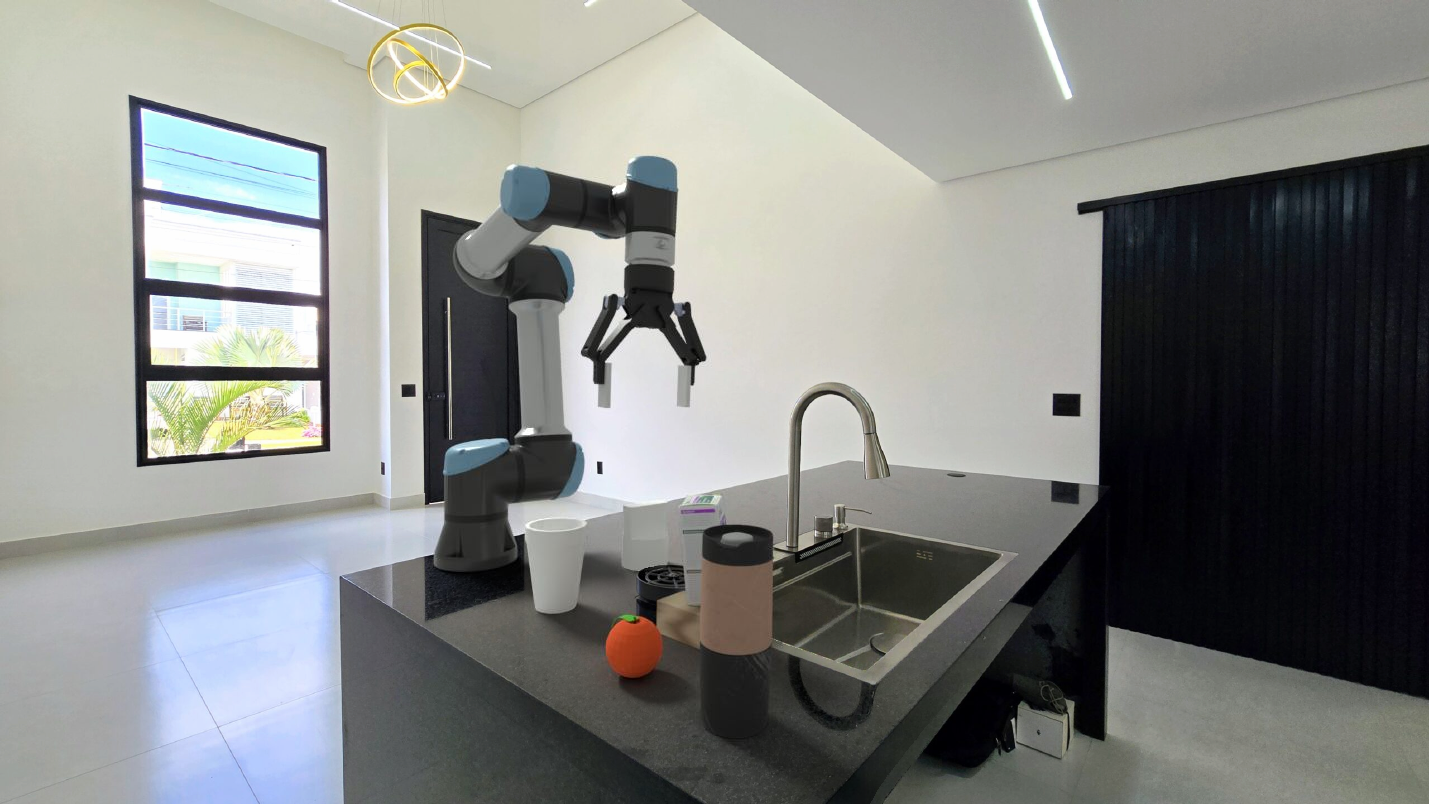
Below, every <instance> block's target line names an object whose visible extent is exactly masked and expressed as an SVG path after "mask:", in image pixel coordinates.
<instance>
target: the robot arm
mask: <svg viewBox="0 0 1429 804" xmlns="http://www.w3.org/2000/svg"><path fill="white" fill-rule="evenodd" d="M625 178H626V182H625V181H624V183H621V184H618V185H610V184H607V183H606V184H605V183H601V182H597V181H594V180H593V181H592V180H588V179H583V178H580V177H574V176H571V175H567V174H562V173H558V172H555V171H550V170H546V169H542V168H540V167H537V166H527V165H520V164H512V165H509V166H508V167H507V168H506V170H505V171H504V174H503V177H502V179H501V183H500V188H499V189H500V190H499V191H500V192H499V196H500V197H499V198H500V204H498V206H497V207H496V208H495V209H494V210H493V212H492V213H490V214H489V215H488V217H487V218H485V220H484V221H483V222H482V223H481V224H480V225H479V226H478V227H477V228H476V229H471V230H468V231H467V232H465V233H464V234H463V235H462V236H461V237H460V238H459V239H458V240H457V241H456V243H455V245H454V247H453V253H452V261H453V265H454V268H455V270H456V272H457V274H458V276H459V277H460V278H461V280H462V281H463V282H464V283H466V284H467V286H469V287H470V288H472V289H473V290H475V291H477V292H479V293H481V294H484V295H488V296H491V297H498V298H507V299H508V309H509V310H510V312H512V313H513V314H514V315H515V316H516V325H517V327H516V328H517V331H516V332H517V346H518V347H517V348H518V350H517V351H518V368H519V369H518V370H519V373H518V374H519V391H520V392H519V393H520V414H521V418H520V419H521V429H520V430H519V431H518V432H517V434H516V435H514V444H513V445H510V443H509V440H508V439H507V438H491V439H488V438H485V439H478V440H471V441H468V442H467V441H465V442H462V443H458V444H455V445H452V446H451V447H450V448H448V449H447V451H446V452H445V455H444V465H443V471H442V474H443V476H444V477H443V479H444V481H443V483H444V484H443V486H444V487H443V489H444V491H443V495H444V496H443V512H444V513H443V515H444V516H443V525H442V529H441V531H440V535H439V537H438V541H437V543H436V545H435V549H434V551H433V566H434V567H435V568H437V569H438V570H441V571H442V570H443V571H449V572H458V573H459V572H460V573H461V572H462V573H463V572H464V573H465V572H466V573H467V572H480V571H487V570H494V569H497V568H501V567H504V566H507V565H510V564H511V563H513V562H515V561H516V560H517V558H518V545H517V541H516V538H515V536H514V533H513V529H512V527H511V523H510V522H509V506H510V504H521V503H527V502H529V503H531V502H540V501H541V502H542V501H556V500H558V499H563V498H569V497H571V496H573V495H574V494H575V493H576V492H577V491H578V490H579V487H580V486H581V484H582V481H583V478H584V473H585V463H586V462H585V461H586V460H585V453H584V451H583V447H582V445H581V444H580V443H578V442H576V441H573V433H572V432H571V431H570V430H569V429H568V428H567V427H566V426H565V414H564V413H565V412H564V395H563V393H564V392H563V377H562V376H563V374H562V358H561V357H562V355H561V354H562V353H561V338H560V337H561V336H560V321H559V320H560V318H559V316H560V315H561V313H562V312H563V311H564V310H566V303H569V301H570V300H571V299H572V297H573V294H574V291H575V290H574V287H575V283H576V282H575V281H576V279H575V273H574V267H573V263H572V262H571V260H570V258H569V256H568V255H567V254H566V253H565V252H564V251H563V250H561V249H559V248H555V247H551V246H548V245H544V244H541V245H537V244H531V243H533V241H535V240H536V239H537V238H538V237H539V236H540V235H542V234H543V233H544V232H545V231H547V230H548V229H550V228H551V227H552V226H559V227H564V228H570V229H576V230H582V231H587V232H591V233H593V234H595V235H596V236H597V237H599V238H601V239H603V240H618V239H623V238H625V239H624V240H625V242H624V262H625V263H626V264H627V265H626V266H625V267H624V269H623V272H624V273H623V274H624V275H623V290H624V294H623V297H622V296H618V294H617V293H611V294H610V293H609V294H605V295H604V296H603V298H602V300H603V301H602V307H601V310H600V313H599V314H598V317H597V318H596V319H595V323H594V325H593V326H592V329H591V331H590V332H589V334H588V336H587V338H586V340H585V343H584V344H583V346H582V348H581V350H580V355H581V356H582V357H584V358H586V359H589V360H590V361H591V362H592V364H593V366H592V367H593V371H592V373H593V374H592V382H593V384H594V385H598V386H597V389H598V391H597V392H598V393H597V407H598V408H604V409H611V400H612V399H611V397H612V366H613V365H612V364H613V363H612V362H606V361H607V360H609V357H611V355H612V354H613V353H614V352H615V351H616V349H617V348H618V346H619V345H620V344H621V343H622V342H623V341H624V340H625V338H626V337H627V336H629V335H628V334H629V333H630V332H631V331H632V330H633V329H635V328H636V329H642V328H643V329H645V328H647V329H650V330H657V329H658V331H660V332H661V333H662V334H663V336H664V337H665V339H666V340H667V342H668V343H669V345H670V346H671V348H672V349H673V350H674V352H675V353H676V355H677V357H678V358H679V360H680V361H681V363H682V365H680V364H679V365H677V388H676V389H677V391H676V406H677V407H680V408H690V407H691V387H692V386H694V385H695V382H696V381H695V380H696V377H695V376H696V367H697V366H699V365H700V364H701V363H702V362H703V363H704V362H706V360H707V355H706V353H705V349H704V347H703V344H702V341H701V339H700V335H699V333H698V330H697V327H696V325H695V322H694V319H693V317H692V304H691V302H689V301H683V302H674V299H673V295H674V292H675V274H676V273H675V270H674V268H673V266H674V265H675V263H676V262H675V260H676V233H677V232H676V231H677V214H678V197H679V196H678V195H679V188H678V169H677V166H676V164H675V163H674V162H673V161H671V160H669V159H668V158H664V157H661V156H657V155H656V156H655V155H639V156H636V157H633V158H631V159H630V160H629V162H628V164H627V169H626V174H625ZM620 308H622V309H623V311H624V312H625V315H624V316H623V317H622V318H621V319H620V321H619V322H618V324H617V326H616V327H615V328H614V329H613V331H612V332H611V333H610V334H609V335H608V337H607V338H606V339H605V340H604V338H605V335H606V333H607V332H608V329H609V327H610V326H611V323H612V321H613V319H614V318H615V316H616V313H617V311H619V310H620ZM672 314H674V315H675V316H676V317H677V322H678V325H679V328H680V331H681V333H682V335H683V336H682V335H681V333H680V332H679V330H678V329H677V325H676V323H675V321H674V320H673V318H672V317H671V316H672ZM603 340H604V341H603ZM602 342H603V343H602Z"/></svg>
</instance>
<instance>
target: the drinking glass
mask: <svg viewBox="0 0 1429 804" xmlns="http://www.w3.org/2000/svg"><path fill="white" fill-rule="evenodd" d="M622 505H623V506H622V534H621V567H622V566H623V567H624V568H627V569H630V570H641V569H644V568H648V567H654V566H657V565H663V564H665V563H667V562H668V563H669V540H670V539H669V537H670V536H669V531H668V527H669V526H668V525H669V516H668V515H669V502H668V501H667V500H662V499H655V500H649V501H641V502H634V503H628V504H627V503H626V504H622ZM623 567H622V568H623ZM624 568H623V569H624Z"/></svg>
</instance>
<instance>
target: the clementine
mask: <svg viewBox="0 0 1429 804" xmlns="http://www.w3.org/2000/svg"><path fill="white" fill-rule="evenodd" d="M619 618H620V619H622V620H620V621H618V622H617V623H616V624H615V622H616V621H617V620H618V619H619ZM614 624H615V625H614ZM610 628H611V630H610V631H609V634H608V636H607V638H606V642H605V654H606V659H607V661H608V663H609V665H610V667H611V668H612V669H613V670H614V672H615V673H617V674H618V675H620V676H623V677H625V678H629V679H637V678H641V677H643V676H645V675H647V674H649V673H650V672H652V671H653V670H654V669H655V668H656V666H657V665H658V664H659V662H660V660H661V657H662V655H663V648H664V645H663V644H664V643H663V637H662V636H663V635H662V634H660V631H659V629H658V628H657V625H656V624H654V622H653V621H651V620H649V619H647V618H646V617H644V616H639V615H633V614H624V615H620V616H618V617H616V618H614V619H613V621H612V624H611V627H610Z"/></svg>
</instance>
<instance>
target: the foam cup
mask: <svg viewBox="0 0 1429 804" xmlns="http://www.w3.org/2000/svg"><path fill="white" fill-rule="evenodd" d="M587 539H588V522H587V521H586V520H584V519H581V518H577V517H565V516H564V517H547V518H539V519H536V520H535V519H534V520H531V521H529V522H527V523H526V524H525V526H524V541H525V543H526V547H527V548H526V550H527V555H528V563H529V565H528V566H529V569H530V570H529V571H530V579H531V586H532V588H531V589H532V593H533V594H532V595H533V603H534V607H535V608H534V609H535V610H536V611H537V612H539V613H542V614H549V615H551V614H562V613H566V612H569V611H571V610H573V609H574V610H575V607H577V602H578V598H579V597H578V596H579V591H580V584H581V578H582V577H581V576H582V570H583V562H584V555H585V548H586V542H587Z"/></svg>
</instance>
